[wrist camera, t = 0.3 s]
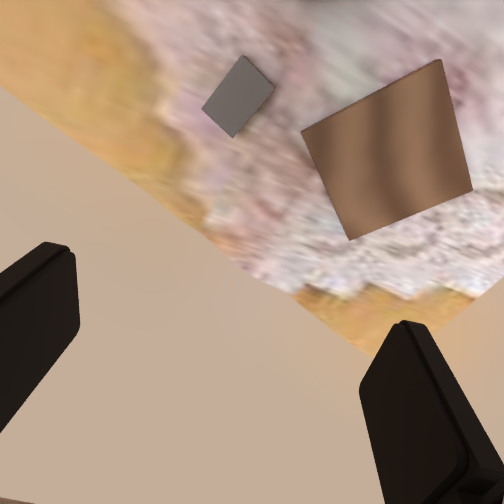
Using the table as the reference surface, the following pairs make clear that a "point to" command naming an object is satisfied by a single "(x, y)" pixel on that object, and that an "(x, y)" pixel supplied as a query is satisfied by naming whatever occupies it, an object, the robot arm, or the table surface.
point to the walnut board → (391, 152)
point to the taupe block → (238, 96)
